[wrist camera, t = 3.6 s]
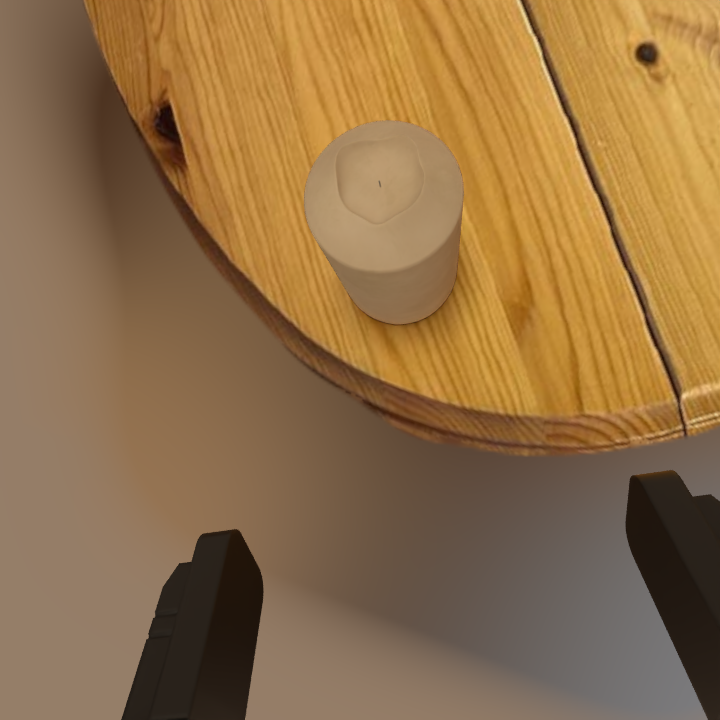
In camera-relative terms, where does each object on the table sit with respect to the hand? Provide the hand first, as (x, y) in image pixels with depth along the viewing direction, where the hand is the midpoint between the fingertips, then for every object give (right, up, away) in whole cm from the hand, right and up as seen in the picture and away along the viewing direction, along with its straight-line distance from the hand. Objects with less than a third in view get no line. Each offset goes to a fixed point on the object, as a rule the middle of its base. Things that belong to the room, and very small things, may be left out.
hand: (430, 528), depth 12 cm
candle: (+1, +8, +16) cm, 18 cm away
